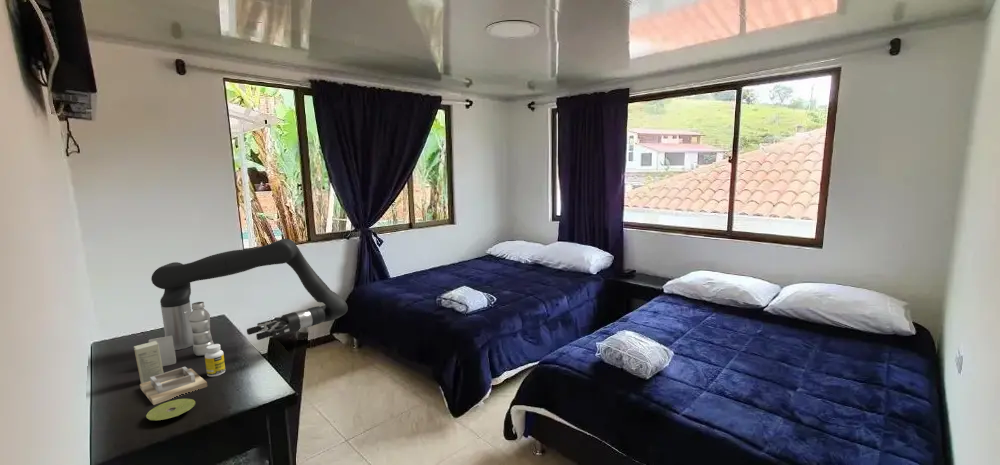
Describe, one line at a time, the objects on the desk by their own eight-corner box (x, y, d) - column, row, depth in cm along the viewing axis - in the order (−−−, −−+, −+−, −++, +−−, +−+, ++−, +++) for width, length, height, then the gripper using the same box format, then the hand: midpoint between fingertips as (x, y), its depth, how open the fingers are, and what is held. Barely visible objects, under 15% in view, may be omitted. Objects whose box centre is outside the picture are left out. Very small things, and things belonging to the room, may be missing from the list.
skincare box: (162, 374, 151) (157, 340, 149) (164, 378, 148) (159, 343, 146) (138, 380, 147) (133, 345, 145) (140, 385, 144) (134, 349, 142)
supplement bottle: (216, 377, 147) (213, 349, 146) (203, 376, 148) (199, 348, 147) (229, 370, 153) (226, 343, 151) (216, 369, 154) (212, 342, 152)
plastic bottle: (215, 354, 166) (208, 303, 163) (193, 359, 162) (186, 307, 159) (214, 349, 171) (208, 299, 168) (193, 353, 167) (186, 302, 164)
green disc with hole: (184, 400, 133) (183, 394, 133) (204, 410, 127) (203, 404, 127) (139, 419, 123) (138, 413, 123) (158, 430, 118) (157, 424, 117)
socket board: (140, 388, 141) (138, 376, 140) (191, 372, 152) (190, 361, 151) (153, 405, 131) (151, 392, 130) (207, 386, 141) (205, 374, 141)
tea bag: (175, 363, 159) (171, 337, 158) (152, 368, 155) (147, 341, 154) (176, 359, 162) (172, 334, 161) (153, 364, 159) (149, 338, 157)
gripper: (287, 308, 174) (242, 320, 162) (304, 315, 165) (258, 328, 153) (289, 326, 175) (245, 340, 163) (306, 334, 166) (261, 349, 154)
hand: (252, 334), depth 158 cm, fingers open, 8 cm apart
